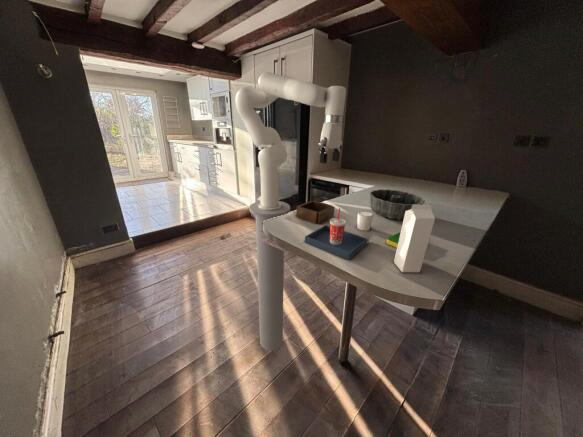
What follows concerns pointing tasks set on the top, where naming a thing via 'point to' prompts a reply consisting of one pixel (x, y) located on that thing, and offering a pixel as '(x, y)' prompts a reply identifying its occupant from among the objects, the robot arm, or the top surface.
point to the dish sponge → (394, 240)
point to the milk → (414, 238)
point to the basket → (315, 212)
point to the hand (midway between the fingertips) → (329, 162)
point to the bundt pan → (393, 202)
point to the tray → (345, 249)
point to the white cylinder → (364, 220)
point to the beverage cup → (337, 230)
